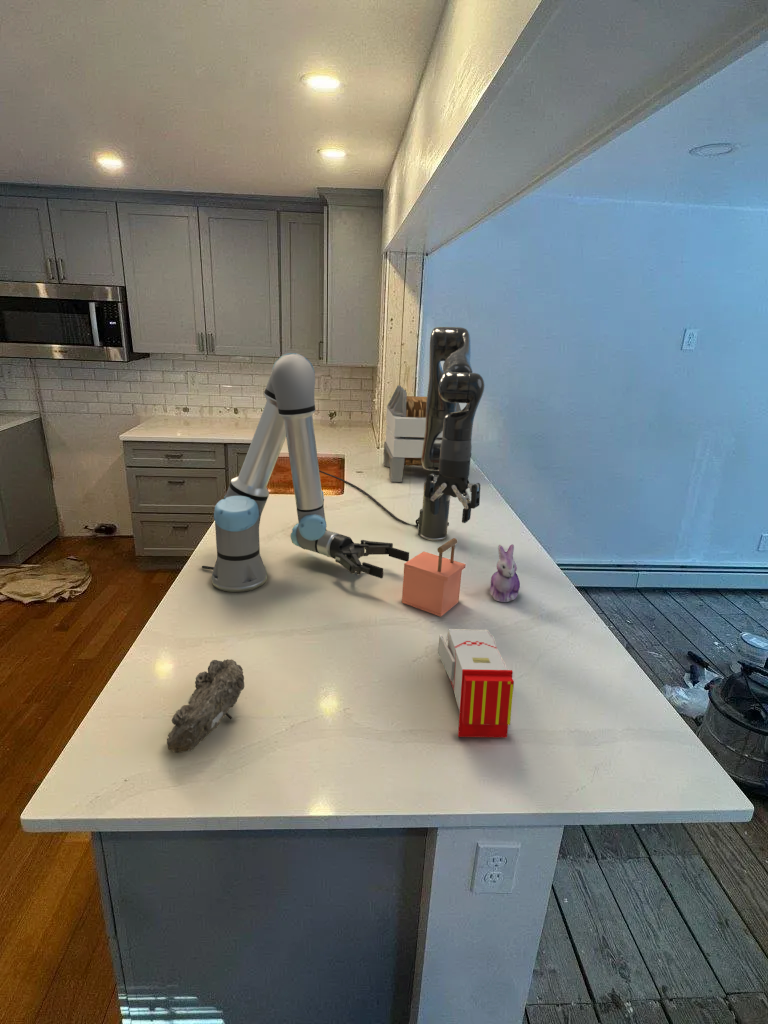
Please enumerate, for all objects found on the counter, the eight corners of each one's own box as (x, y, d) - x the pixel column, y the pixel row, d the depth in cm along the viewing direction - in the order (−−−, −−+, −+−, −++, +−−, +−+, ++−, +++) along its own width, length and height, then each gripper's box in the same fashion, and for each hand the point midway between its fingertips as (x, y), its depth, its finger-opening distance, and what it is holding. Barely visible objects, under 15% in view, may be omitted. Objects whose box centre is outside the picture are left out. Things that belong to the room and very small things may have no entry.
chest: (458, 601, 155) (462, 566, 152) (440, 616, 147) (444, 580, 144) (420, 588, 161) (423, 554, 158) (401, 602, 153) (403, 567, 150)
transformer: (382, 463, 289) (386, 382, 275) (445, 464, 293) (451, 384, 279) (390, 482, 257) (394, 392, 243) (460, 483, 261) (468, 394, 247)
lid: (465, 567, 151) (468, 540, 148) (447, 581, 143) (450, 552, 140) (423, 554, 158) (425, 528, 155) (403, 566, 150) (405, 539, 147)
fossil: (192, 660, 117) (244, 628, 112) (224, 691, 120) (276, 661, 115) (142, 746, 98) (202, 712, 93) (182, 779, 101) (242, 748, 96)
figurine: (502, 606, 153) (509, 556, 148) (479, 590, 162) (485, 541, 157) (529, 600, 157) (536, 550, 152) (505, 584, 166) (512, 537, 161)
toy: (488, 613, 130) (523, 677, 101) (484, 667, 133) (517, 744, 104) (435, 612, 130) (455, 676, 101) (432, 666, 133) (451, 743, 103)
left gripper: (359, 544, 181) (417, 562, 170) (308, 571, 161) (370, 593, 150) (360, 522, 178) (418, 539, 168) (308, 547, 159) (371, 567, 148)
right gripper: (422, 453, 139) (418, 515, 145) (475, 464, 132) (468, 529, 137) (437, 448, 145) (432, 508, 150) (488, 458, 138) (481, 520, 143)
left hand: (395, 565), depth 159 cm, fingers open, 13 cm apart
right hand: (449, 518), depth 144 cm, fingers open, 8 cm apart
